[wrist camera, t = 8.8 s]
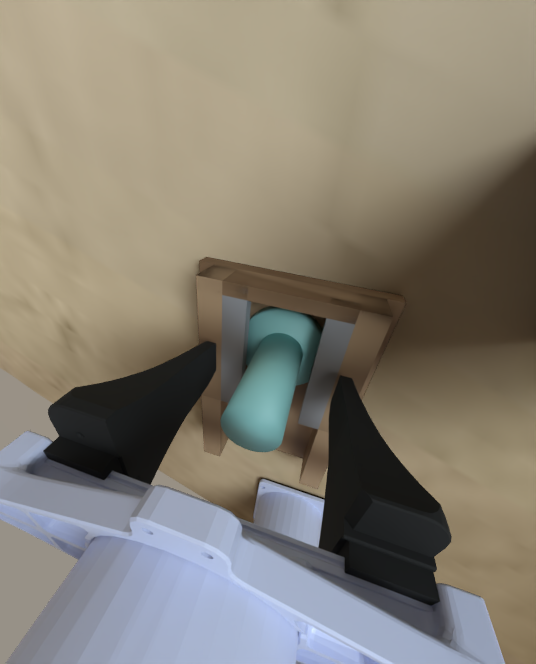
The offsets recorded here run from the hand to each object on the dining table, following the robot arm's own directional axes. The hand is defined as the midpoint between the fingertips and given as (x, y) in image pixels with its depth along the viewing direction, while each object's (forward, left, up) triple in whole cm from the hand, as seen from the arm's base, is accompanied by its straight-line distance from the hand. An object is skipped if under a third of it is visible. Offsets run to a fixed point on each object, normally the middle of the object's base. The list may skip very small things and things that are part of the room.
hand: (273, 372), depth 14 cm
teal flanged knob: (0, 0, -3) cm, 3 cm away
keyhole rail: (-4, 0, -4) cm, 5 cm away
